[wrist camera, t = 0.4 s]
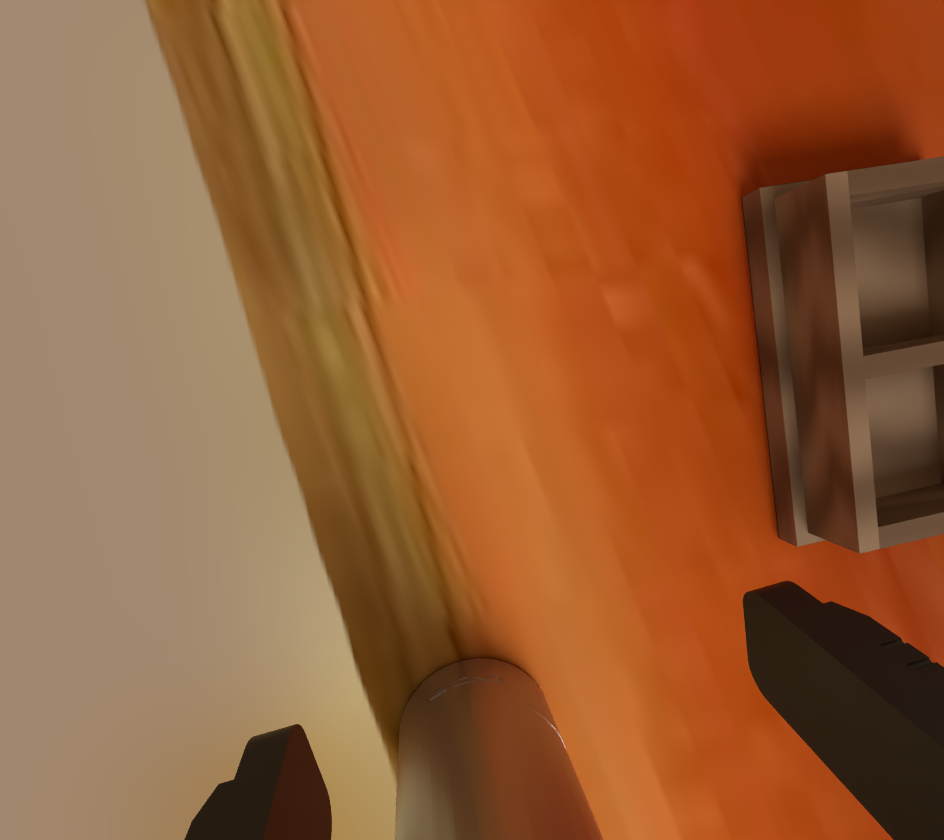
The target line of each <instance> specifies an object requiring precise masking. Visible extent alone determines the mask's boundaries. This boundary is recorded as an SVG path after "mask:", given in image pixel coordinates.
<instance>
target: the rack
mask: <svg viewBox="0 0 944 840" xmlns="http://www.w3.org/2000/svg"><path fill="white" fill-rule="evenodd" d="M742 203H743V212H744V221H745V231H746V240H747V249H748V258H749V267H750V276H751V286H752V295H753V304H754V313H755V322H756V331H757V340H758V350H759V359H760V368H761V377H762V386H763V395H764V405H765V414H766V423H767V432H768V441H769V450H770V459H771V469H772V478H773V487H774V496H775V505H776V514H777V524H778V533H779V539H781V540H783V541H786V542H788V543H790V544H792V545H795V546H797V547H798V546H802V545H807V544H811V543H815V542H820V541H824V540H827V541H830V542H832V543H835V544H837V545H840V546H842V547H845V548H847V549H850V550H852V551H855V552H857V553H864V552H868V551H873V550H877V549H881V548H885V547H889V546H894V545H898V544H902V543H906V542H911V541H915V540H919V539H923V538H928V537H932V536H936V535H940V534H944V157H938V158H931V159H924V160H917V161H911V162H904V163H897V164H890V165H884V166H877V167H870V168H863V169H857V170H850V171H843V172H836V173H830V174H825V175H823V176H820V177H818V178H816V179H814V180H809V181H802V182H796V183H789V184H782V185H775V186H769V187H762V188H758V189H756V190H755V191H753V192H751V193H749V194H747V195H745V196H743V197H742Z"/></svg>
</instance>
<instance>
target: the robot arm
mask: <svg viewBox="0 0 944 840" xmlns="http://www.w3.org/2000/svg"><path fill="white" fill-rule="evenodd" d="M743 608H744V620H745V631H746V642H747V653H748V663H749V667H750V670H751V673H752V676H753V678H754V680H755V682H756V684H757V686H758V688H759V689H760V691H761V693H762V694H763V695H764V697H765V698H766V699H767V701H768V702H769V703H770V704H771V705H772V706H773V707H774V708H775V709H776V711H777V712H778V713H779V714H780V715H781V716H782V717H783V718H784V719H785V720H786V722H787V723H788V724H789V725H790V726H791V727H792V728H793V729H794V730H795V731H796V733H797V734H798V735H799V736H800V737H801V738H802V739H803V740H804V741H805V742H806V744H807V745H808V746H809V747H810V748H811V749H812V750H813V751H814V752H815V753H816V755H817V756H818V757H819V758H820V759H821V760H822V761H823V762H824V763H825V765H826V766H827V767H828V768H829V769H830V770H831V771H832V772H833V773H834V774H835V776H836V777H837V778H838V779H839V780H840V781H841V782H842V783H843V784H844V785H845V787H846V788H847V789H848V790H849V791H850V792H851V793H852V794H853V795H854V796H855V798H856V799H857V800H858V801H859V802H860V803H861V804H862V805H863V806H864V807H865V809H866V810H867V811H868V812H869V813H870V814H871V815H872V816H873V817H874V818H875V820H876V821H877V822H878V823H879V824H880V825H881V826H882V827H883V828H884V829H885V831H886V832H887V833H888V834H889V835H890V836H891V837H892V838H893V839H894V840H944V667H942V666H941V665H940V664H938V663H937V662H936V663H932V662H931V661H930V659H929V657H928V656H926V655H925V654H923V653H922V652H920V651H919V650H918V649H916V648H915V647H913V646H912V645H910V644H909V643H906V644H905V643H903V642H902V640H901V638H900V637H898V636H897V635H895V634H894V633H893V632H891V631H890V630H888V629H887V628H885V627H884V626H882V625H881V624H879V623H878V622H876V621H875V620H873V619H872V618H871V617H869V616H867V615H864V614H862V613H859V612H857V611H854V610H852V609H849V608H847V607H844V606H842V605H839V604H837V603H834V602H832V601H831V602H828V603H824V604H823V603H822V602H820V601H819V600H817V599H816V598H815V597H813V596H812V595H810V594H809V593H808V592H806V591H805V590H804V589H802V588H801V587H799V586H798V585H796V584H795V583H793V582H790V581H783V582H780V583H777V584H773V585H770V586H766V587H763V588H759V589H756V590H752V591H749V592H747V593H745V595H744V597H743ZM395 826H396V827H395V840H603V837H602V835H601V833H600V830H599V828H598V825H597V823H596V820H595V818H594V816H593V813H592V811H591V808H590V806H589V804H588V801H587V799H586V796H585V794H584V791H583V789H582V787H581V784H580V782H579V779H578V777H577V775H576V772H575V770H574V767H573V765H572V762H571V760H570V758H569V755H568V753H567V750H566V747H565V745H564V742H563V740H562V738H561V735H560V733H559V731H558V728H557V726H556V723H555V721H554V719H553V716H552V714H551V712H550V709H549V707H548V704H547V702H546V700H545V697H544V695H543V693H542V691H541V690H540V688H539V687H538V685H537V684H536V683H535V681H534V680H533V679H532V678H531V677H529V676H528V675H527V674H526V673H525V672H524V671H523V670H521V669H519V668H517V667H515V666H513V665H511V664H510V663H506V662H503V661H499V660H496V659H484V658H476V659H469V660H462V661H459V662H456V663H453V664H450V665H448V666H446V667H444V668H442V669H440V670H439V671H437V672H435V673H434V674H432V675H431V676H430V677H429V678H427V679H426V680H425V681H424V682H423V683H422V684H421V685H420V686H419V687H418V688H417V690H416V691H415V692H414V694H413V695H412V696H411V698H410V699H409V701H408V703H407V705H406V708H405V710H404V712H403V715H402V719H401V723H400V727H399V750H398V777H397V795H396V824H395ZM331 830H332V816H331V806H330V800H329V795H328V791H327V788H326V786H325V783H324V781H323V778H322V775H321V773H320V770H319V768H318V765H317V762H316V760H315V758H314V755H313V752H312V750H311V747H310V744H309V742H308V739H307V737H306V734H305V732H304V730H303V728H302V727H301V726H300V725H299V724H296V725H292V726H289V727H285V728H282V729H278V730H275V731H271V732H268V733H265V734H261V735H257V736H254V737H252V738H251V739H250V740H249V741H248V743H247V745H246V747H245V750H244V753H243V756H242V759H241V761H240V764H239V767H238V770H237V773H236V776H235V778H234V780H231V781H228V782H224V783H221V784H219V785H218V786H217V787H216V789H215V790H214V792H213V793H212V794H211V796H210V797H209V799H208V800H207V801H206V803H205V804H204V805H203V807H202V808H201V810H200V811H199V812H198V814H197V815H196V817H195V818H194V819H193V821H192V823H191V825H190V828H189V830H188V833H187V835H186V838H185V840H331V832H332V831H331Z"/></svg>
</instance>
